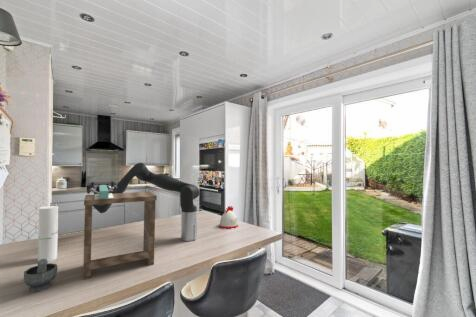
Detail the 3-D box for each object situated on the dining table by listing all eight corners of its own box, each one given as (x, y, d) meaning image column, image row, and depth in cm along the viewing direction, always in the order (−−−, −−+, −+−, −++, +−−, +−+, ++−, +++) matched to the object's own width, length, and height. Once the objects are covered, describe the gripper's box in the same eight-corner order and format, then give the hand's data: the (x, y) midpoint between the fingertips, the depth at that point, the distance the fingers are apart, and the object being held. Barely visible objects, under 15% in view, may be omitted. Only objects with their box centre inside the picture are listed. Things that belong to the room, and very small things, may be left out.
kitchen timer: (241, 226, 171) (242, 206, 171) (228, 230, 161) (229, 209, 161) (228, 222, 180) (229, 203, 180) (215, 226, 170) (216, 206, 170)
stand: (148, 252, 119) (149, 190, 119) (155, 265, 105) (156, 195, 106) (83, 265, 104) (85, 194, 105) (82, 280, 91) (84, 199, 91)
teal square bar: (106, 190, 118) (106, 184, 118) (108, 198, 96) (108, 190, 96) (99, 190, 116) (99, 185, 116) (100, 198, 94) (100, 191, 94)
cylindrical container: (60, 257, 112) (62, 206, 112) (44, 263, 105) (45, 209, 105) (50, 255, 114) (52, 205, 114) (34, 261, 107) (35, 207, 108)
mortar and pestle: (23, 286, 86) (23, 254, 86) (54, 278, 92) (55, 248, 92) (24, 300, 78) (25, 264, 78) (58, 289, 84) (59, 257, 85)
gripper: (87, 189, 129) (86, 177, 117) (115, 188, 137) (117, 176, 125) (86, 202, 126) (86, 190, 114) (115, 200, 134) (118, 189, 122)
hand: (102, 183), depth 120 cm, fingers open, 8 cm apart
